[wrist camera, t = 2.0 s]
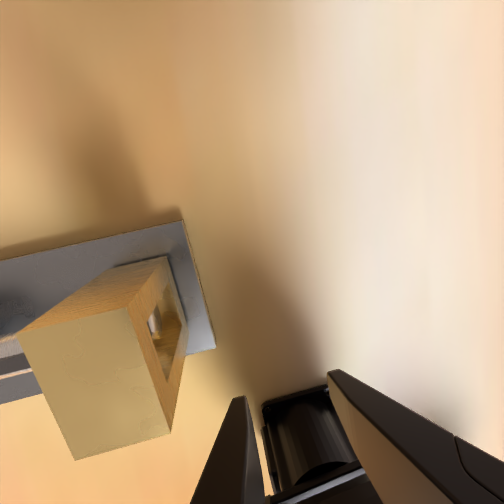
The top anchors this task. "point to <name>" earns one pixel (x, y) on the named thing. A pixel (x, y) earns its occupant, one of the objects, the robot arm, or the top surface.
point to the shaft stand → (79, 274)
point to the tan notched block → (111, 358)
